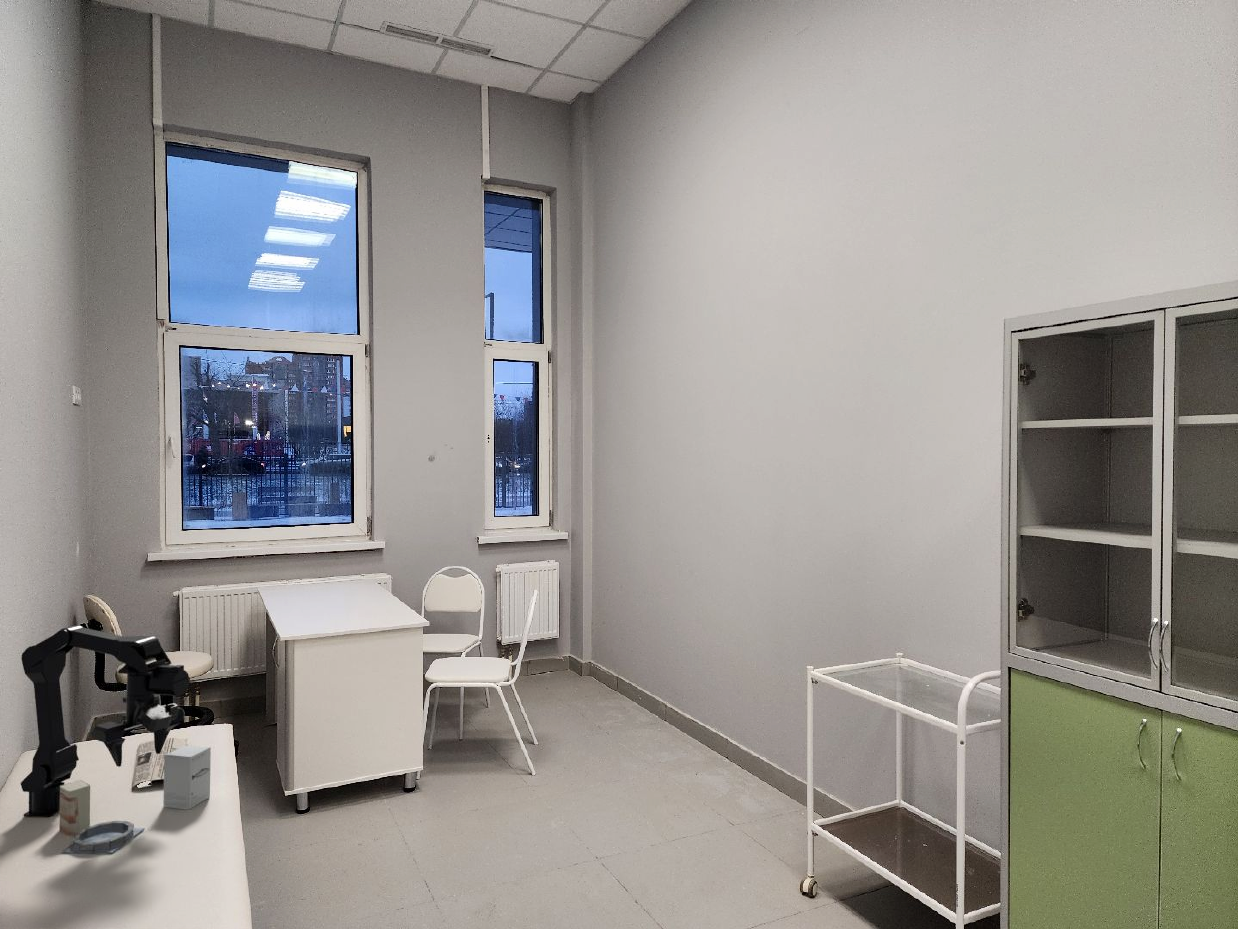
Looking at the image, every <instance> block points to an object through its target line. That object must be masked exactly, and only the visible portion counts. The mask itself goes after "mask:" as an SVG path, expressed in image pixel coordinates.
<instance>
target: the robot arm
mask: <svg viewBox="0 0 1238 929" xmlns="http://www.w3.org/2000/svg"><path fill="white" fill-rule="evenodd" d="M76 648H79V649H84V650H89V651H91V652H96V653H101V654H106V655H110V656H113V657H115V659H116V660H117V661H118V662H120V663H122V664H124V665H123V667H122V666H121V668H119V669H118V671H117V672H118V674H123V675H126V696H124V697H122V703H125V714H122V715H121V720H122V721H125V722H122V723H117V722H115V721H114V722H113V721H107V722H102V723H99V724H96V725H94V727H93V728H92V729H91V739H92V740H96V741H98V742H102V743H103V744H104V745H105V747H106V749H107V750H108V752H109V754H110V755H111V757H112V759H113V762H114V764H115V765H116V767H119V768H120V767H122V763H123V744H124V743H125V741H126V738H123V737H124V735H125V734H126V733H125V732H126V731H127V732H128V731H131V730H135V729H137V728H141V727H144V728H145V729H146V730H147V731H148V732H151V733H153V740H154V744H155V751H156V754H160V752H161V750H162V748H163V745H164V743H165V740H166V738H168V735H169V734H170V732H171V731H172V729H174V728H175V726H178V725H180V722H182V721H184V720H185V714H186V713H185V711H184V709H183V708H182V707H179V706H178V704H177V703H175V702H174V703H169V704H167V705H166V704H164V705H161V704H160V703H161V702H160V695H161V696H174V697H181V696H183V695H185V693H186V692H187V691H188V689H189V686H190V681H191V678H190V675H189V673H188V672H187V671H186V670H185V665H183V664H176V665H174V664H172V660H170V658H169V656H168V655H167V653H166V652H165V650H164V648H163V647H162V646H161V642H160V640H159V638H158V637H155V636H153V635H133V636H132V635H131V636H125V635H118V634H113V633H109V632H105V631H101V630H100V631H99V630H95V629H91V628H87V627H83V626H81V625H73V626H68V627H64V628H61V629H60V630H58V631H57V632H56V633H54V634H53V635H51V636H50V637H49V636H48V638H46V639H44V640H42V641H40V642H39V643H37V644H35V645H29V646H28V647H26V649H25V650H24V651H23V652H22V653H21V659H20V660H21V663H22V664H21V665H22V667H23V668H22V669H23V672H24V674H25V675H26V677H27V678H28V679H29V680H30V681H31V682H32V684H33V690H34V701H35V702H34V703H35V712H36V721H37V722H36V724H37V734H38V735H37V736H38V746H37V749H36V751H35V753H34V755H33V758H32V766H31V771H30V772H29V774H28V775H27V776H25V778H24V779H23V780H22V781H21V782H20V786H21V790H22V792H25V793H28V811H27V812H24V813H23V817H30V818H32V817H33V818H34V817H36V818H38V817H39V818H41V817H43V818H50V817H52V816H54V815H56V814H58V813H60V786H62V785H65V782H64V781H66V780H69V779H71V776H72V773H73V771H74V770H75V769H76V767H77V764H78V763H77V762H79V760H80V759H79V757H78V745H77V744H76V743H73V744H71V743H70V742H69V741H68V740H67V739H66V734H65V726H64V723H65V722H64V713H63V712H64V711H63V703H62V702H63V701H62V693H61V683H60V679H61V675H62V674H63V671H64V669H65V667H66V665H67V664H66V662H67V655H68V654H69V653H70V652H71V651H73V650H74V649H76Z"/></svg>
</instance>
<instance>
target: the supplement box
mask: <svg viewBox="0 0 1238 929" xmlns="http://www.w3.org/2000/svg"><path fill="white" fill-rule="evenodd" d="M211 748H212V747H211V746H201V745H185V746H183V747H181V748H179V749H177V750H175V751H173V752H171V753H168V754H166V755H164V779H163V800H162V801H163V802H162V803H163V804H162V805H163V807H164V808H170V809H176V810H177V809H178V810H191V809H192V808H194V807H195V806H197V805H198V804H200V803H202V802H204V801H206V800H208V799H209V798H210V797H211V753H212V752H211V751H212V750H211Z"/></svg>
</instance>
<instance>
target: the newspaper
mask: <svg viewBox="0 0 1238 929" xmlns="http://www.w3.org/2000/svg"><path fill="white" fill-rule="evenodd" d="M188 740H189V739H188V738H179V737H175V736H174V737H169V738H168V737H167V738H166V740H165V743H164V745H163V748H162V750H161V752H160V754H156V751H155V744H154V739H151V740H146V741H143V742H140V743H139V744H138V746H137V751H136V752H137V753H136V759H135V760H136V761H135V766H134V773H133V778H132V779H133V780H132V786H131V790H132V791H134V790H135V791H136V790H139V788H138V787H137V785H139V784H140V783H143V782H146V781H151V780H152V781H157V780H164V755H166V754H168V753H171V752H173V751H175V750H177V749H179V748H181V747H183V746H185V745H187V743H188ZM148 785H152V786H153V783H152V784H151V783H149V784H148Z"/></svg>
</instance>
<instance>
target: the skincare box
mask: <svg viewBox="0 0 1238 929" xmlns="http://www.w3.org/2000/svg"><path fill="white" fill-rule="evenodd" d="M90 821H91V784H90V783H88V782H86V781H84V780H82V779H79V780H75V781H72V782H69V783H68V782H67V783H64V785H62V786H60V811H59V831H60V832H62V833H63V834H64V835H66V836H69V837H70V836H74V835H75V834H77V833H78V832H80V831H81V830H83V829H85V828H88V827H90V826H91V822H90Z"/></svg>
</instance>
